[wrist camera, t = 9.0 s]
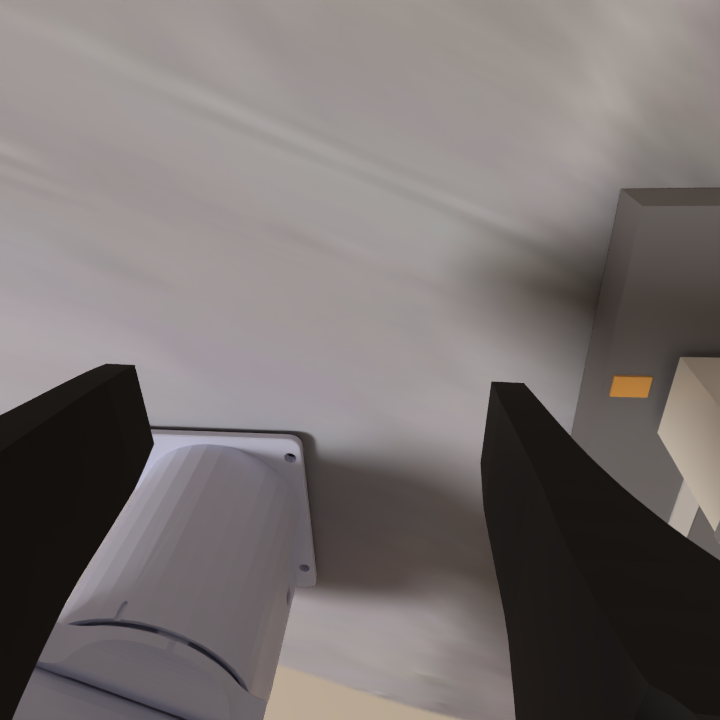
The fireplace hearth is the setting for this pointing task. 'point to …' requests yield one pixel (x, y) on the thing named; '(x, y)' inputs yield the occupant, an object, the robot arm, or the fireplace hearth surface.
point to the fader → (696, 431)
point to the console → (651, 344)
